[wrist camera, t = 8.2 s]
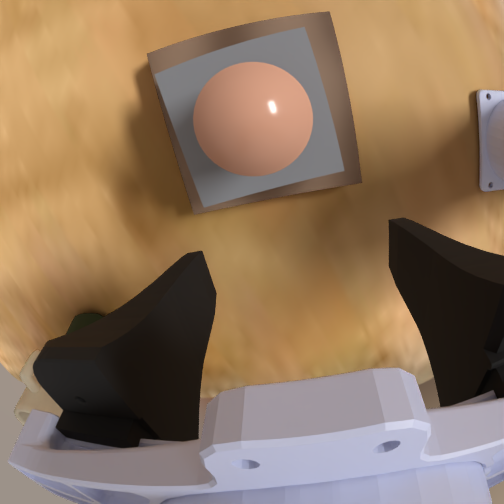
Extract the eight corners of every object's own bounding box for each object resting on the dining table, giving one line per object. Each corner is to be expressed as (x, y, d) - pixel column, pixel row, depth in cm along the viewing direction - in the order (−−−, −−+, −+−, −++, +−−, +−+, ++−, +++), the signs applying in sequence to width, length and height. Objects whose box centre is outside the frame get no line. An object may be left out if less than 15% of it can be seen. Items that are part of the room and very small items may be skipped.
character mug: (149, 367, 32) (114, 472, 20) (97, 365, 32) (57, 456, 21) (107, 285, 26) (38, 400, 15) (53, 290, 27) (-15, 386, 16)
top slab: (300, 34, 15) (304, 26, 13) (335, 160, 18) (344, 170, 16) (168, 75, 16) (154, 74, 14) (211, 193, 20) (203, 207, 18)
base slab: (322, 19, 16) (329, 11, 14) (352, 172, 21) (361, 182, 19) (159, 56, 18) (146, 53, 16) (201, 201, 23) (194, 214, 21)
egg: (288, 67, 14) (300, 53, 10) (303, 149, 16) (321, 165, 12) (201, 84, 14) (181, 77, 10) (220, 164, 16) (207, 186, 12)
